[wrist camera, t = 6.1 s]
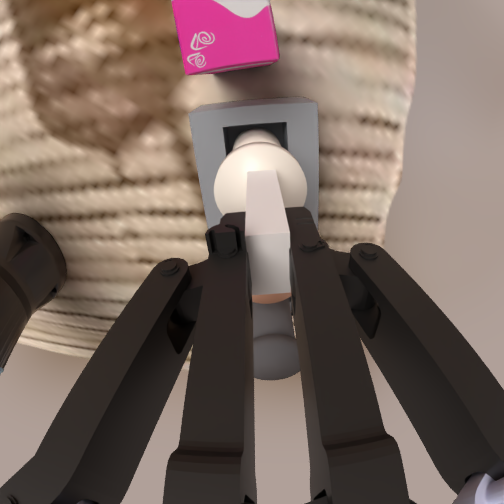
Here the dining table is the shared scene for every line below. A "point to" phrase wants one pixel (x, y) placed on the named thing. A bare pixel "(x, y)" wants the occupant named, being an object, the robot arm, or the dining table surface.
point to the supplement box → (225, 34)
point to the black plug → (274, 341)
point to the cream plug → (255, 159)
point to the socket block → (248, 116)
